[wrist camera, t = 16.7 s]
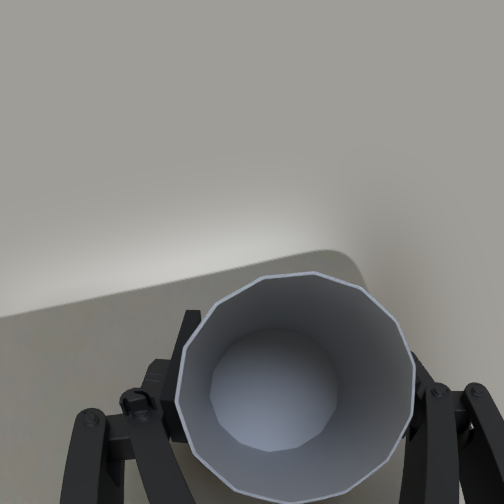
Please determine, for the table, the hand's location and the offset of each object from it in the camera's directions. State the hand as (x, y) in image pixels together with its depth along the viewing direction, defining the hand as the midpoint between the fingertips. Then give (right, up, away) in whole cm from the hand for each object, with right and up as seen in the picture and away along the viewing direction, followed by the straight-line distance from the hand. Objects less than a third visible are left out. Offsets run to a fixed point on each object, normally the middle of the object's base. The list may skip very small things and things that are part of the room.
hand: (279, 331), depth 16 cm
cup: (0, -5, +2) cm, 5 cm away
